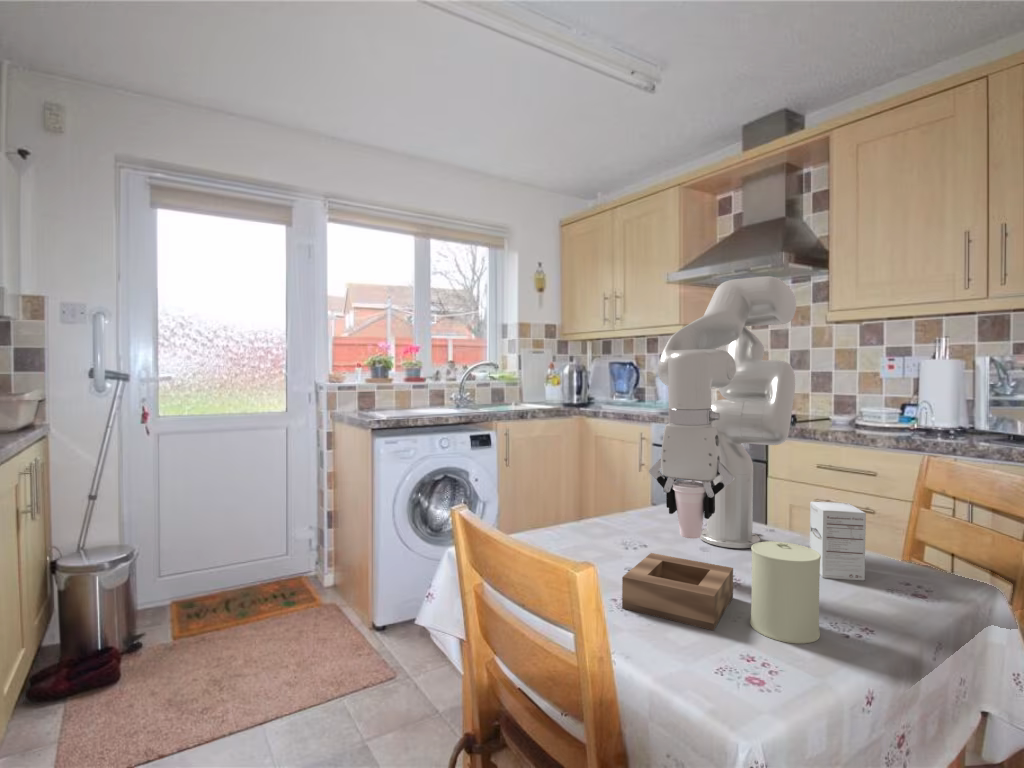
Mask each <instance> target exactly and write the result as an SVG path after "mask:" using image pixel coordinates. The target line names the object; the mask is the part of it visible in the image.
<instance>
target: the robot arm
mask: <svg viewBox="0 0 1024 768" xmlns="http://www.w3.org/2000/svg"><path fill="white" fill-rule="evenodd" d="M796 310H797V301H796V296H795V294H794V292H793V290H792V289H791V288H790V287H789V286H788V285H787V284H786V283H785V282H784V281H782V279H780V278H778V277H775V276H771V275H769V276H768V275H767V276H756V277H745V278H735V279H729V280H726V281H724V282H722V283H720V284H719V285H718V286H717V287H716V289H715V291H714V293H713V295H712V297H711V299H710V300H709V303H708V305H707V308H706V310H705V312H704V314H703V316H701V317H699V318H697V319H695V320H693V321H692V322H690V323H688V324H687V325H685V326H683V327H682V328H680V329H678V330H677V331H676V332H674V334H672V335H671V336H670V338H669V339H668V341H667V343H666V345H665V346H664V348H663V351H661V355H660V357H659V361H658V366H657V373H658V378H659V379H660V381H661V382H662V383H663V384H664V385H665V386H667V387H668V423H666V424H665V426H664V430H663V436H662V444H661V453H660V454H661V455H660V459H659V460H657V462H656V463H654V465H653V466H652V467H650V468H649V470H648V473H649V474H650V475H651V476H652V478H653V479H655V480H656V482H658V484H659V485H660V486H661V488H663V491H664V492H665V493H666V497H665V498H666V501H665V502H666V505H665V506H666V508H668V513H669V515H673V514H674V513H675V512H677V507H676V499H675V491H674V490H673V489H672V487H673V483H674V482H676V481H678V480H695V481H700V482H703V485H704V488H705V490H706V496H705V497H704V516H703V519H706V528H704V529H703V528H702V532H701V537H700V538H699V539H701V540H702V541H703V542H705V543H708V544H710V545H713V546H716V547H720V548H728V549H751V547H752V545H753V544H755V543H758V542H761V538H760V536H758V535H757V534H755V533H753V527H754V526H753V522H754V521H753V520H754V518H753V516H754V511H753V510H754V509H753V507H754V506H753V504H754V503H753V502H754V462H753V460H752V457H751V456H750V454H749V453H748V451H747V450H746V449H745V447H744V446H743V444H750V445H751V444H752V445H763V446H778V445H781V444H784V442H785V441H786V440H787V439H788V436H789V434H790V428H791V420H792V413H793V407H794V399H795V391H796V376H795V375H796V374H795V371H794V368H793V367H792V365H791V364H790V363H788V362H787V361H784V360H778V359H769V360H768V359H764V354H765V346H764V344H763V343H762V341H761V340H760V339H759V338H758V337H757V335H756V334H755V333H753V332H752V331H750V330H749V328H747V327H753V326H755V327H756V326H777V325H778V326H779V325H786V324H788V323H790V322H792V320H793V319H794V317H795V316H796V315H795V314H796ZM724 346H725V350H724V349H720V348H722V347H724ZM763 359H764V360H763ZM712 389H718V391H719V393H720V395H721V396H722V397H723V398H725V399H717V400H714V401H712Z"/></svg>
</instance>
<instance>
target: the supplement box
mask: <svg viewBox="0 0 1024 768" xmlns="http://www.w3.org/2000/svg"><path fill="white" fill-rule="evenodd" d="M809 504H810V505H809V509H810V510H809V511H810V512H809V548H811V549H813V550H815V551H817V552H818V553H819V554H820V555H821V559H820V576H821V578H823V579H824V578H825V579H833V580H834V579H835V580H836V579H837V580H850V581H865V580H866V579H865V577H866V574H865V573H866V535H867V534H866V533H867V532H866V528H867V525H866V520H867V512H865V511H863V510H862V509H860V508H858V507H856V506H854V505H852V503H849V502H838V501H837V502H836V501H835V502H834V501H833V502H830V501H810V503H809Z"/></svg>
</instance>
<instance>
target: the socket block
mask: <svg viewBox="0 0 1024 768" xmlns="http://www.w3.org/2000/svg"><path fill="white" fill-rule="evenodd" d="M621 580H622V582H621V583H622V587H621V588H622V589H621V590H622V592H621V594H622V595H621V596H622V597H621V604H622V605H621V609H624V610H629V611H633V612H635V613H640V614H645V615H647V616H648V615H649V616H654V617H657V618H661V619H665V620H668V621H669V620H670V621H674V622H676V623H677V622H678V623H682V624H685V625H690V626H693V627H697V628H701V629H707V630H709V631H714V630H715V629H716V628H717V625H718V624H719V622H720V620H721V619H722V617H723V615H724V613H725V612H726V610H727V608H728V607H729V605H730V604H731V602H732V600H733V599H734V567H731V566H730V567H729V566H724V565H720V564H713V563H708V562H702V561H697V560H692V559H685V558H680V557H676V556H669V555H664V554H659V553H653V552H650V553H649V554H648V555H647V556H645V558H643V559H642V560H641V561H639V562H638V563H637V564H636V565H635V566H634V567H632V568H631V569H629V571H628V572H627V573H625V574H624V575H623V576H622V579H621Z"/></svg>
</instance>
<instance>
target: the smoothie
mask: <svg viewBox="0 0 1024 768" xmlns="http://www.w3.org/2000/svg"><path fill="white" fill-rule="evenodd" d="M672 489H673V490H674V491H675V499H676V507H677V511H676V513H677V521H678V527H679V535H680V536H681V537H682V538H685V539H693V540H694V539H701V538H700V537H701V532H702V530H703V522H704V497H705V496H706V490H705V488H704V485H703V482H702V481H695V480H685V479H680V480H677V481H676V482H674V483H673V487H672Z"/></svg>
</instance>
